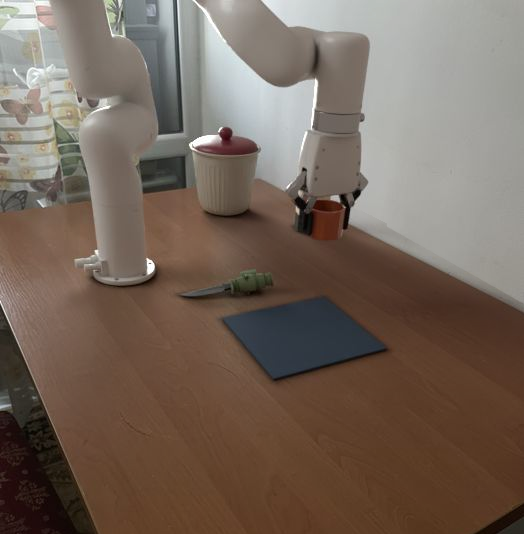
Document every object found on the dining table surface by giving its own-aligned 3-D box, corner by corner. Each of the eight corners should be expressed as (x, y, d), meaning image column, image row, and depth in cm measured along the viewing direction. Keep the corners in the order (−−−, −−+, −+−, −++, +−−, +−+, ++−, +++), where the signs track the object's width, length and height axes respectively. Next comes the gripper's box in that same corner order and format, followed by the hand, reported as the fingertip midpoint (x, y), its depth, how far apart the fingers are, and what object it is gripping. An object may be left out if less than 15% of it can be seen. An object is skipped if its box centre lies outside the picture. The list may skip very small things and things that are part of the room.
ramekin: (317, 243, 93) (320, 214, 90) (296, 229, 97) (298, 201, 95) (349, 237, 95) (353, 209, 93) (327, 224, 100) (331, 197, 97)
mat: (273, 380, 85) (273, 378, 85) (221, 319, 99) (221, 317, 99) (386, 349, 94) (386, 347, 94) (323, 298, 108) (323, 296, 108)
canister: (246, 196, 157) (249, 118, 146) (266, 219, 143) (271, 134, 132) (184, 200, 152) (182, 119, 140) (199, 223, 138) (198, 136, 126)
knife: (274, 274, 105) (269, 265, 109) (179, 291, 103) (177, 281, 107) (276, 292, 107) (270, 282, 111) (182, 309, 105) (180, 298, 109)
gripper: (365, 115, 92) (350, 216, 102) (275, 120, 85) (269, 229, 95) (393, 124, 87) (375, 230, 97) (301, 131, 80) (291, 245, 90)
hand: (323, 229), depth 96 cm, fingers closed on ramekin, 6 cm apart
